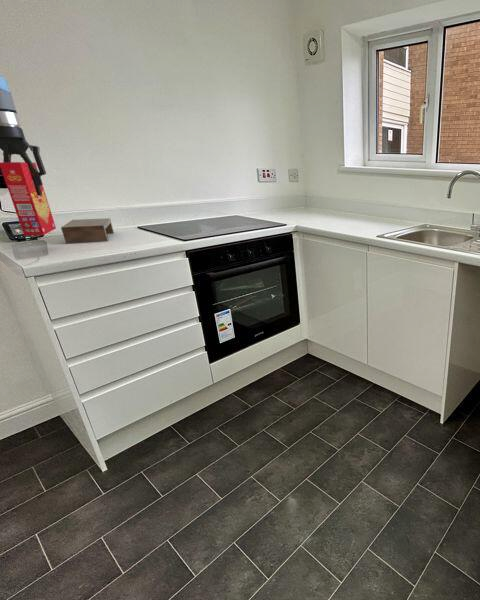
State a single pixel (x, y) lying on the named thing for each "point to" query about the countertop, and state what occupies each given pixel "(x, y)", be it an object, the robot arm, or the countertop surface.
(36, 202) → the food packaging
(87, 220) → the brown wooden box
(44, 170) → the robot arm
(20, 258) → the countertop surface
